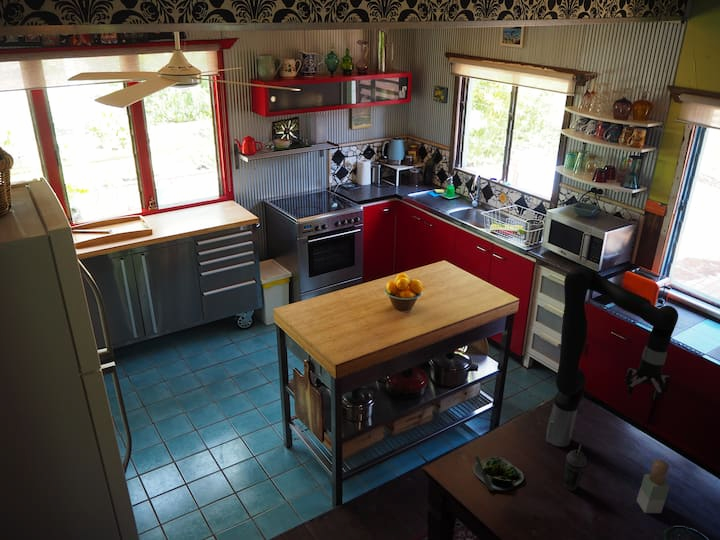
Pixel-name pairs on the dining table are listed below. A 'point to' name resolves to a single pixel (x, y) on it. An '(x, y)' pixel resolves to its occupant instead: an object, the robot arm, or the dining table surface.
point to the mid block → (654, 489)
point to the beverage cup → (574, 469)
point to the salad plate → (498, 473)
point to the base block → (649, 503)
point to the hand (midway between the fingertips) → (642, 396)
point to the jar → (659, 472)
